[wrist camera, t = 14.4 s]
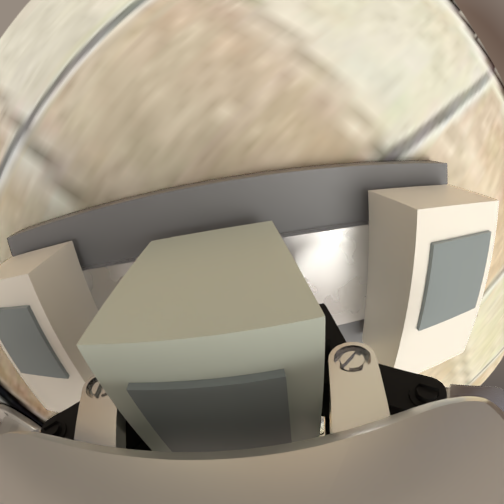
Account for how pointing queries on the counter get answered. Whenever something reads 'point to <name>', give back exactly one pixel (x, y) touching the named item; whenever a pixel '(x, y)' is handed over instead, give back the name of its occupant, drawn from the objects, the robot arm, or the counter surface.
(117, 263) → the rail panel
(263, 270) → the block
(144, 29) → the counter surface
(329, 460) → the robot arm
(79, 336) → the mounted modules
